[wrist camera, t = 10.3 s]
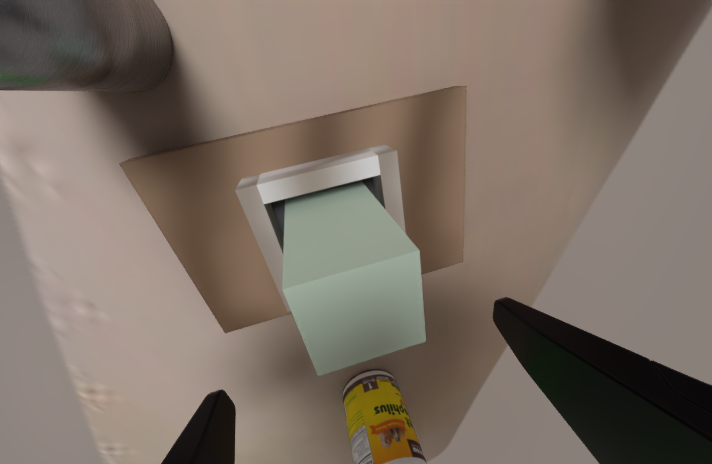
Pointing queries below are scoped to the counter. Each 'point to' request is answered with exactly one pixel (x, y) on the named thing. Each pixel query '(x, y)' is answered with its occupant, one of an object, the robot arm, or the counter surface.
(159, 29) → the round peg
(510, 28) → the counter surface
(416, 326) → the square peg
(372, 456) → the supplement bottle
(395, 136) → the bore board
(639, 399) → the robot arm
